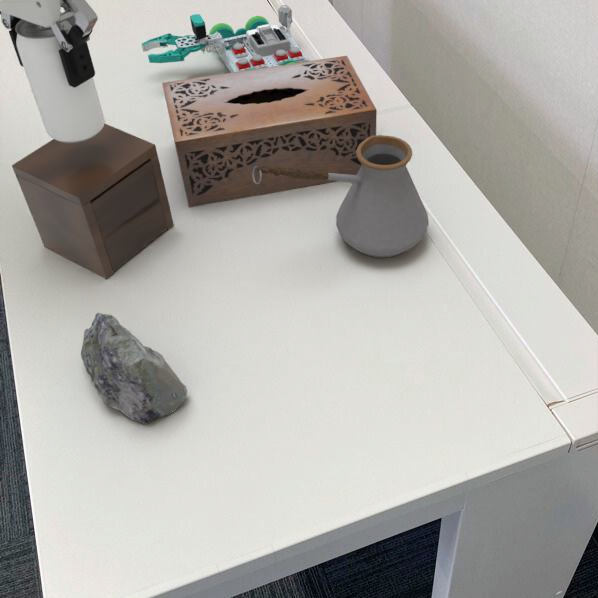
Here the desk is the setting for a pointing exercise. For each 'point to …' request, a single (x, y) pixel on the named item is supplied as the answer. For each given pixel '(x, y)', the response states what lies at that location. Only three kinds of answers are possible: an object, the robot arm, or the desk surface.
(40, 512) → the desk surface
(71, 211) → the wooden drawer cube
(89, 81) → the can
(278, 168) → the coffee pot
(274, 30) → the robot kit
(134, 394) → the mineral rock
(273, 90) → the tissue box cover
